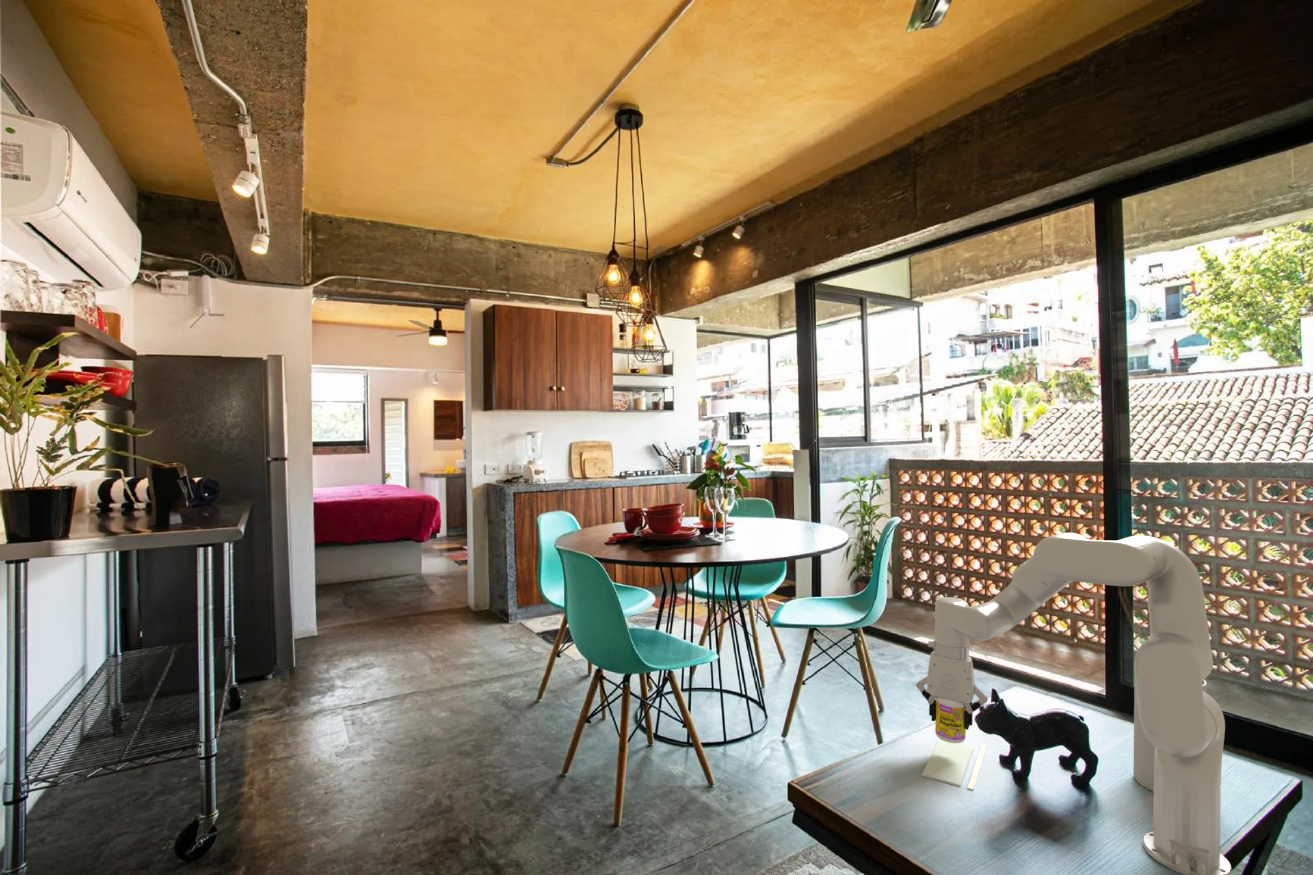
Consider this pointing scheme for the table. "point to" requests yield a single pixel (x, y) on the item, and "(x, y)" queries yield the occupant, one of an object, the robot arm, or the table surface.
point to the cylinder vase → (1145, 749)
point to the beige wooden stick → (977, 767)
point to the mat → (948, 762)
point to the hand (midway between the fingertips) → (950, 722)
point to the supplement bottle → (950, 720)
